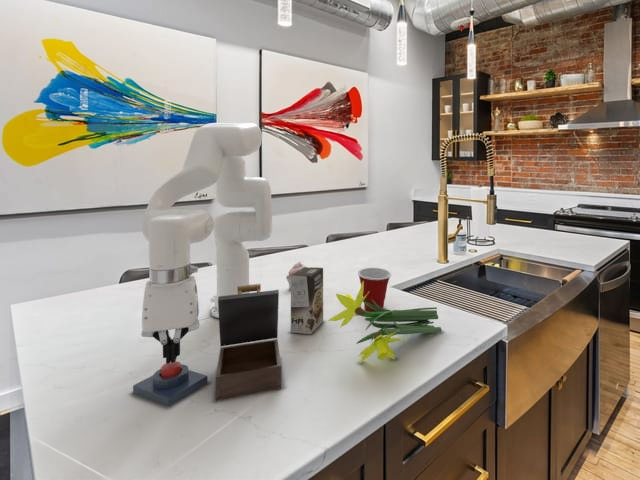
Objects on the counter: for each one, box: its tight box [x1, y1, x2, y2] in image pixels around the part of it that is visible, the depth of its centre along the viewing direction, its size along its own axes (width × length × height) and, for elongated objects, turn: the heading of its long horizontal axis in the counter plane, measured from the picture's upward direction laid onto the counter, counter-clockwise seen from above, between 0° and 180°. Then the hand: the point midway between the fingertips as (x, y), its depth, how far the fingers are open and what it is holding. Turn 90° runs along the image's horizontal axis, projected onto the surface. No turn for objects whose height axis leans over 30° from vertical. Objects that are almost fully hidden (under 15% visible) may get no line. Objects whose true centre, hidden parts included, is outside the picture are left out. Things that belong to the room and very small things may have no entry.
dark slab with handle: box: [218, 283, 280, 347], centre depth 95 cm, size 14×13×6 cm
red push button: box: [160, 360, 182, 378], centre depth 85 cm, size 4×4×2 cm
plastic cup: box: [357, 267, 392, 312], centre depth 130 cm, size 11×11×12 cm
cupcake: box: [285, 261, 307, 291], centre depth 150 cm, size 9×9×10 cm
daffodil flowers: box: [327, 281, 442, 364], centre depth 102 cm, size 17×15×35 cm
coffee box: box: [290, 266, 324, 335], centre depth 116 cm, size 9×6×16 cm
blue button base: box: [132, 363, 209, 407], centre depth 85 cm, size 11×9×4 cm
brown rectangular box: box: [215, 338, 282, 402], centre depth 89 cm, size 14×13×5 cm
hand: (171, 359), depth 86 cm, fingers closed
